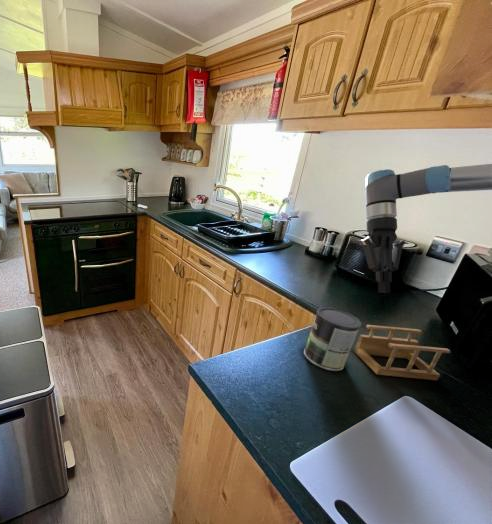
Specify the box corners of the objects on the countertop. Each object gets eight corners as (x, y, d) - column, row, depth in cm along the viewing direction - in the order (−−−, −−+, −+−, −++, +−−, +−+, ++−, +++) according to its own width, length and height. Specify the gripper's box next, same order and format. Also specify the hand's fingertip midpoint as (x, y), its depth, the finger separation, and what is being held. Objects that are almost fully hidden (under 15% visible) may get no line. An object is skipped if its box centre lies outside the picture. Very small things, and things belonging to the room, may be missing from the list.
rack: (353, 351, 88) (364, 324, 84) (407, 356, 87) (420, 329, 84) (376, 374, 78) (390, 345, 75) (437, 380, 78) (453, 351, 74)
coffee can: (299, 359, 82) (313, 316, 77) (307, 343, 90) (320, 303, 85) (342, 377, 76) (360, 332, 71) (346, 358, 84) (363, 316, 79)
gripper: (390, 223, 97) (394, 293, 94) (352, 220, 96) (354, 291, 94) (412, 217, 89) (416, 293, 86) (370, 214, 89) (373, 291, 86)
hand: (384, 292), depth 90 cm, fingers closed
